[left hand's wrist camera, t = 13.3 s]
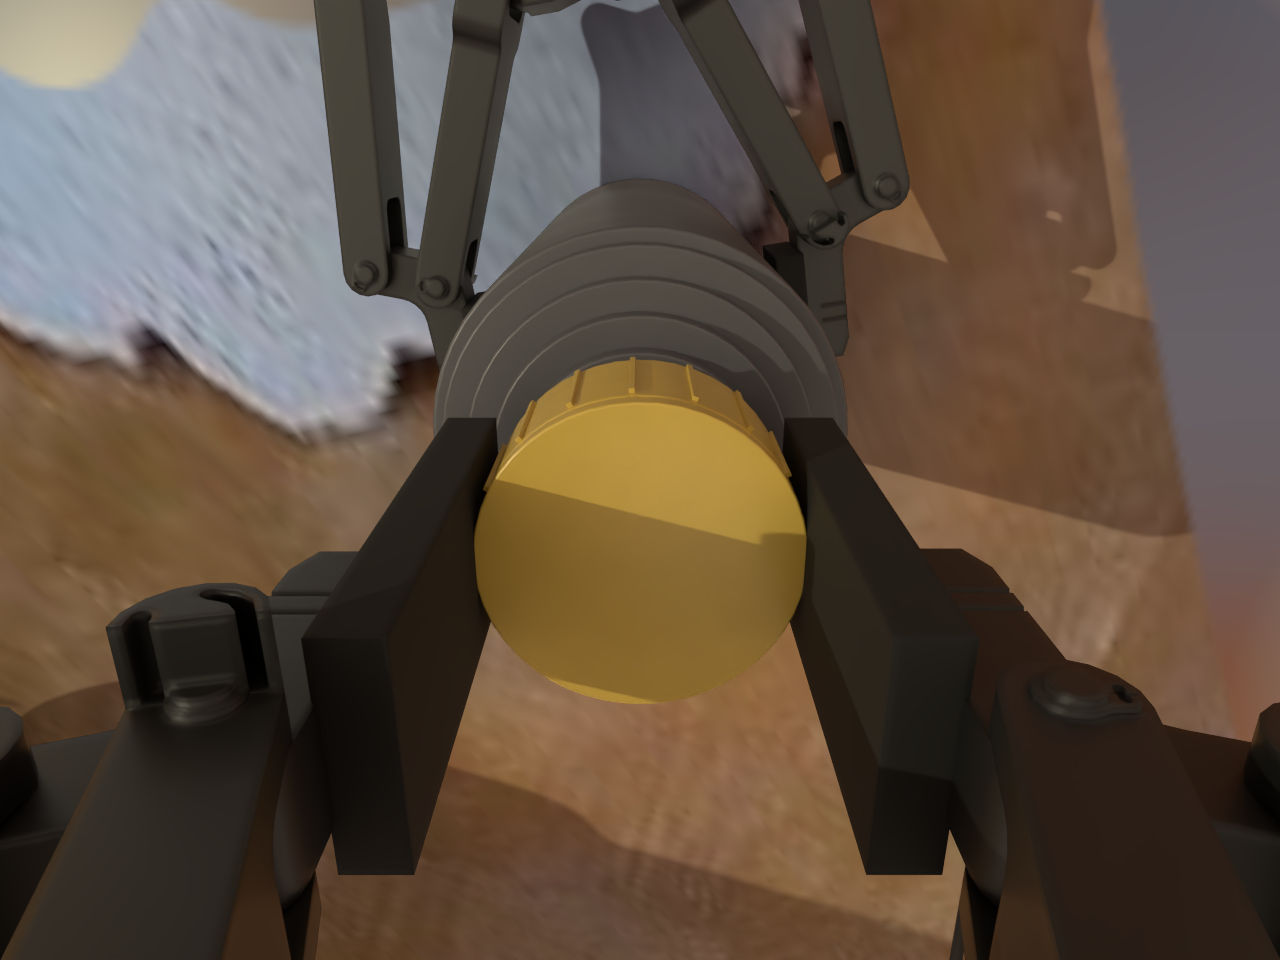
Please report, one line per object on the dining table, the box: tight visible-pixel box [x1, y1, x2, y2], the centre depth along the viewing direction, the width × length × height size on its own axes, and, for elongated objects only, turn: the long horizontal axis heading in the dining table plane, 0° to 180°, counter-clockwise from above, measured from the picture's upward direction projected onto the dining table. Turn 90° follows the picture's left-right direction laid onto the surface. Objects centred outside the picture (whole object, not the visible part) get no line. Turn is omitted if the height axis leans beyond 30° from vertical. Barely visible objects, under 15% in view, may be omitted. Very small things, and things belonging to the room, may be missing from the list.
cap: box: [474, 357, 807, 704], centre depth 13 cm, size 5×5×2 cm
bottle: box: [433, 179, 847, 453], centre depth 22 cm, size 8×8×21 cm
